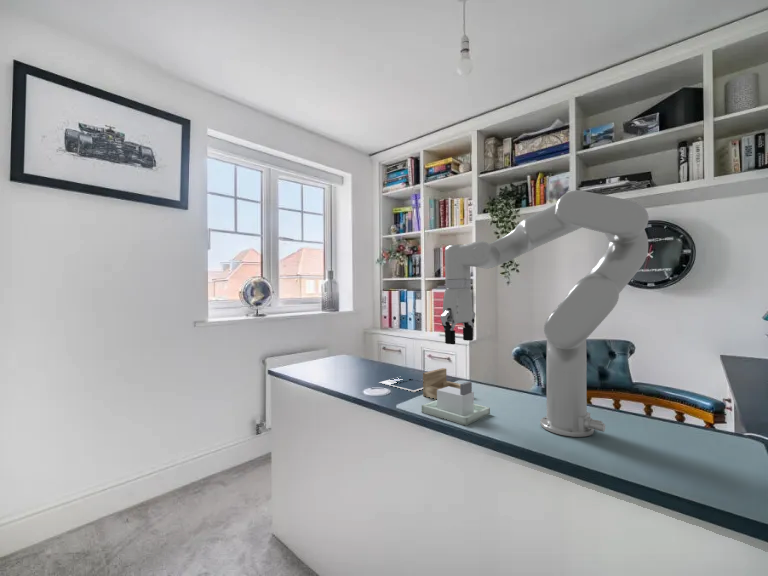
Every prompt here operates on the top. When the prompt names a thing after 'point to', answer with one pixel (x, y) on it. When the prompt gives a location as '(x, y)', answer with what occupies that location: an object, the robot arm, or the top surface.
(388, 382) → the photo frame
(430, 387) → the dock
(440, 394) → the white box
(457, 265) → the robot arm
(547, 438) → the top surface
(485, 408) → the tray
